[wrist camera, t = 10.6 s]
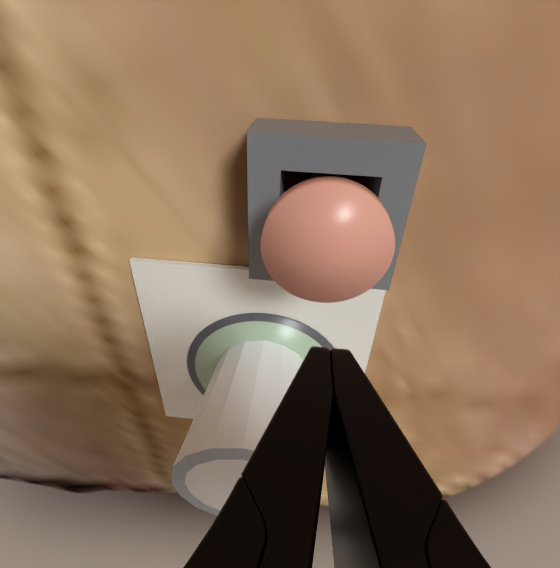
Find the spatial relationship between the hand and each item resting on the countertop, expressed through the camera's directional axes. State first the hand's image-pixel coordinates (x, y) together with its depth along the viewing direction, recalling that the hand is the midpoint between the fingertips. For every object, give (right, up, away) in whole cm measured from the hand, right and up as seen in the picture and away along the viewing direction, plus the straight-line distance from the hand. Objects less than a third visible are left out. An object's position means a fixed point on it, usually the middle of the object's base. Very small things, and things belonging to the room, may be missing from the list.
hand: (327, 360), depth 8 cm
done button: (+1, +5, +7) cm, 9 cm away
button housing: (+1, +6, +8) cm, 10 cm away
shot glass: (-2, -4, +14) cm, 15 cm away
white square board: (-2, -3, +14) cm, 15 cm away
